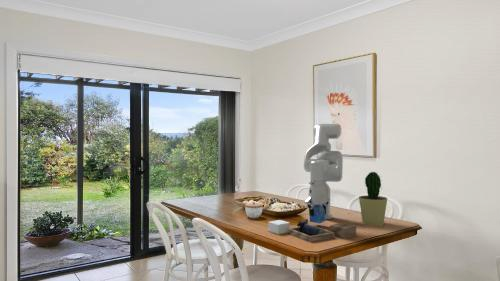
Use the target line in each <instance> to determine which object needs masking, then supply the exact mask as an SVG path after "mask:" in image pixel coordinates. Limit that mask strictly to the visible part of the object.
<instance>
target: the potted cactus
mask: <svg viewBox="0 0 500 281" xmlns="http://www.w3.org/2000/svg"><path fill="white" fill-rule="evenodd" d="M365 175H366V176H365V178H364V185H365V187H366V188H365V189H366V194H367V195H359V196H358V200H359V207H360V213H361V214H360V215H361V222H362V224H363V225H366V226H372V227H373V226H374V227H380V226H384V223H385V217H386V216H385V215H386V210H387V203H388V197H386V196H380V192H381V190H382V189H383V187H382V183H381V182H382V181H383V180H382V179H381V177H382V176H381V175H379V174H378V172H377V171H370V172H368V174H367V173H366V174H365ZM380 189H381V190H380Z"/></svg>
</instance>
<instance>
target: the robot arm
mask: <svg viewBox="0 0 500 281" xmlns="http://www.w3.org/2000/svg"><path fill="white" fill-rule="evenodd" d="M341 135H342V126H341V124H340V123H319V124H316V125H314V127H313V136H314V140H313V141H314V142H313V145H311V146H310V147H309V148H308V149H307V150H306V152H305V155H304V159H303V170H304V172H306V173H310V176H309V177H310V182H308V184H309V188H308V198H307V199H306V200H305V201H304V204H305V205H306V207H307V208H308V214H309V215H308V216H309V217H310V216H314V209H313V207H314V205H321V206H323V208H324V209H325V220H330V219H333V218H334V215H333V214H331V188H330V186H329V184H328V183H327V182H329V183H330V182H334V183H335V182H336V183H338V182H340V181H342V179H343V163H344V160H343V154H342V152H341V151H340V150H332V144H331V142H330V141H329V140H330V139H331V140H333V139H335V140H337V139H339V138H340V136H341ZM314 156H316V158H312V157H314Z"/></svg>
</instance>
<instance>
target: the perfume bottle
mask: <svg viewBox="0 0 500 281" xmlns="http://www.w3.org/2000/svg"><path fill="white" fill-rule="evenodd" d="M313 209H314V216H310V215H309V222H310V223H315V224H321V223H324V222H325V221H326V219H325V209H324V208H323V206H321V205H314V207H313Z"/></svg>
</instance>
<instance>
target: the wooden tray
mask: <svg viewBox="0 0 500 281" xmlns="http://www.w3.org/2000/svg"><path fill="white" fill-rule="evenodd" d="M299 227H300V226H299ZM299 227H290V228H289V229H288V232H287V234H289V235H291V236H292V237H293V236H294V237H296V238H299V239H301V240H303V241H306V242H309V243H313V242H319V241H325V240H330V239H335V238H336V237H335V233H334V232H331V231H330V230H328V229H325V228H321V227H318V226H317V227H318V228H321V229H322V230H323V234H320V235H310V234H307V233H305V232H304V233H301V232H298V229H300V228H299Z"/></svg>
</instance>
